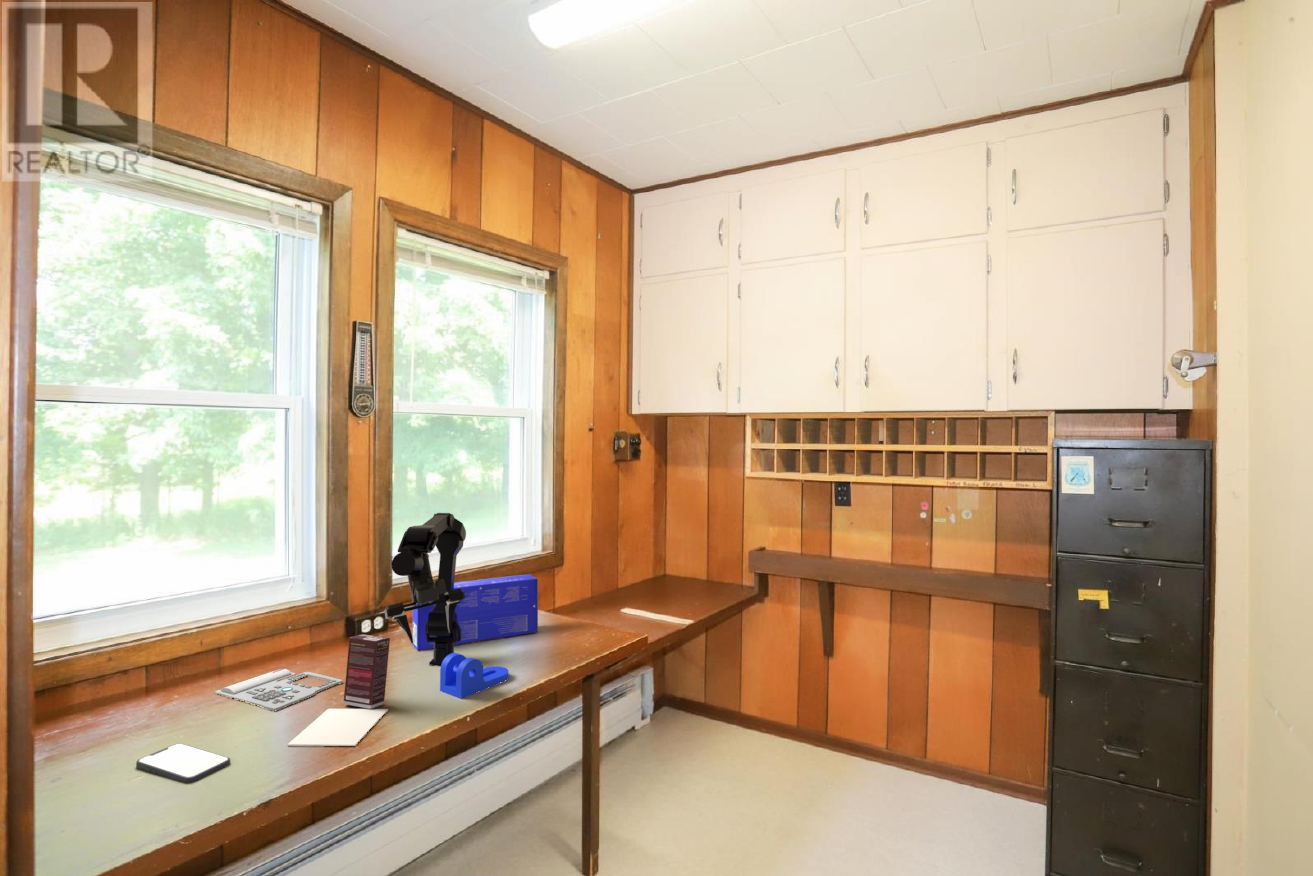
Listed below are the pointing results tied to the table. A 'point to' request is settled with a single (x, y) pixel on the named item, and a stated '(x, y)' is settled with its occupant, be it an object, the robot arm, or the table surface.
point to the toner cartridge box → (488, 610)
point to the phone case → (182, 763)
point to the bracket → (468, 676)
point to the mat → (339, 727)
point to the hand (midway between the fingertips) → (431, 638)
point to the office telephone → (276, 689)
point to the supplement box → (366, 671)
